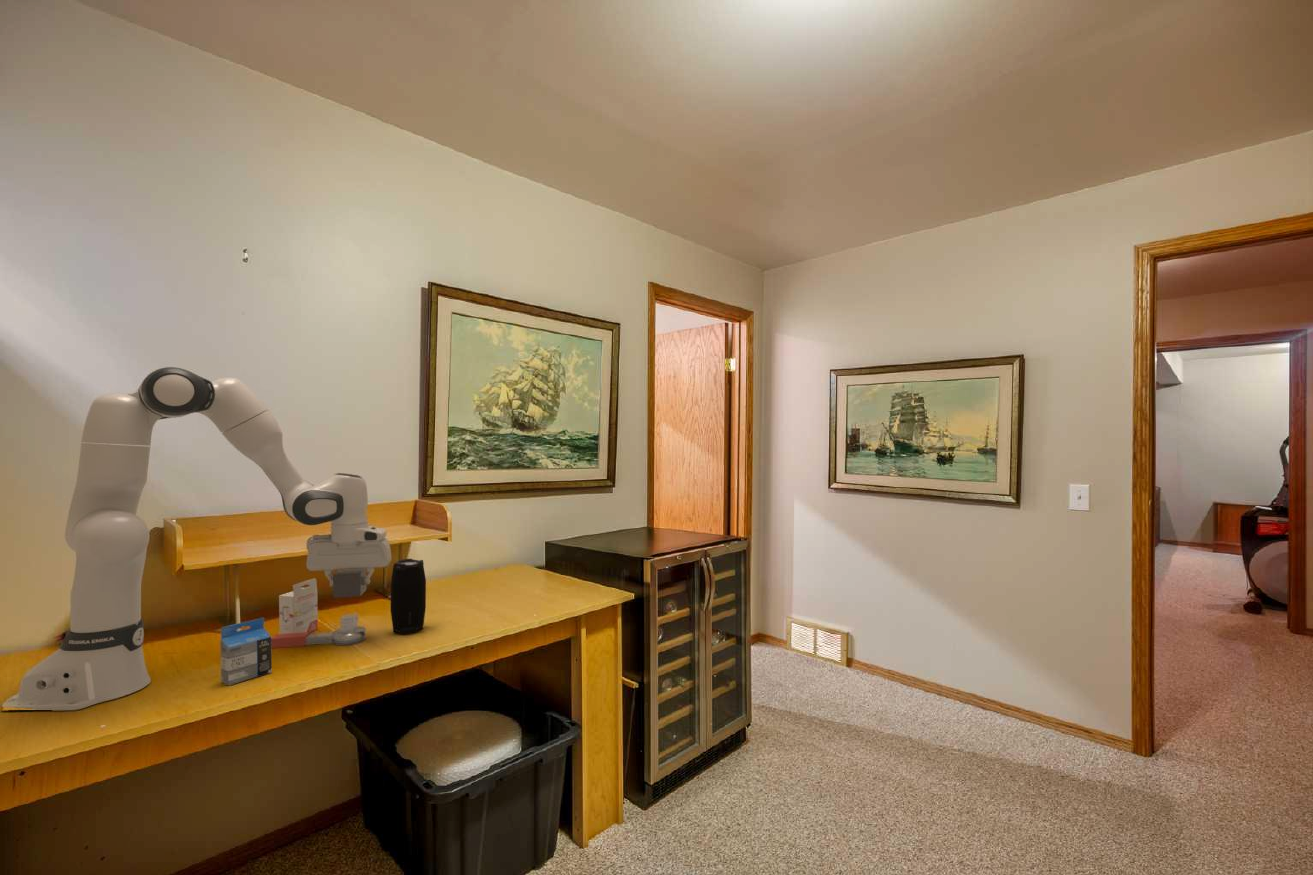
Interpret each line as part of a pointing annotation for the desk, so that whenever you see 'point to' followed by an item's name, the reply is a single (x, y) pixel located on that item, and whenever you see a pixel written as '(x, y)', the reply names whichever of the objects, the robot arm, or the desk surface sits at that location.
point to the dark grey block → (349, 582)
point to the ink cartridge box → (299, 609)
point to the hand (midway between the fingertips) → (350, 584)
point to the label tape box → (245, 652)
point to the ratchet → (325, 635)
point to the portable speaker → (408, 596)
